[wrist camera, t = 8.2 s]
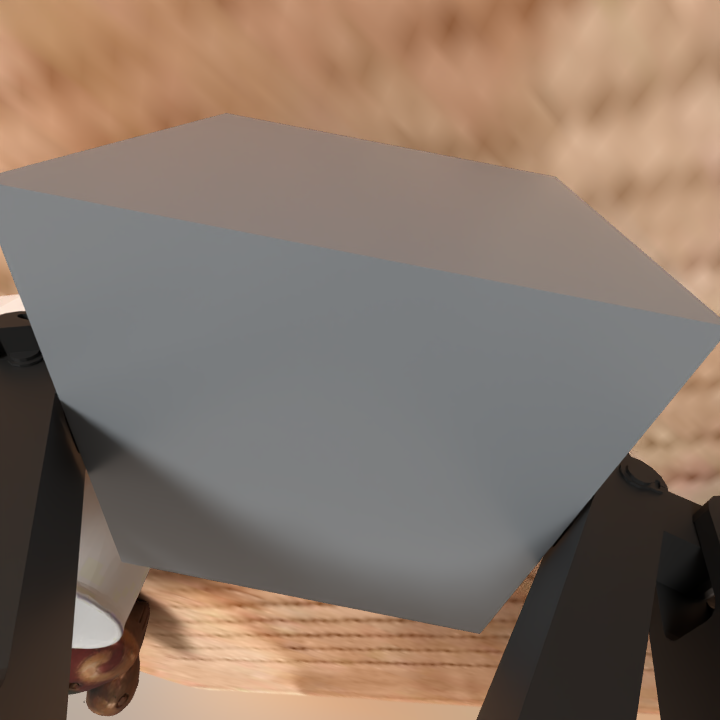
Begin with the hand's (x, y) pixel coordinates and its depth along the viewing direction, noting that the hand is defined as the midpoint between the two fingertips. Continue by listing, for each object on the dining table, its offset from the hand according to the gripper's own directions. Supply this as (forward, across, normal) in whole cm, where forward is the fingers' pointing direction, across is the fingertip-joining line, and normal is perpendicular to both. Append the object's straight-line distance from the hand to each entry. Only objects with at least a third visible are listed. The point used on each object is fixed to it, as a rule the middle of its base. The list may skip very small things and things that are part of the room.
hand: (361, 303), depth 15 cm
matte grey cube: (+1, 0, 0) cm, 1 cm away
